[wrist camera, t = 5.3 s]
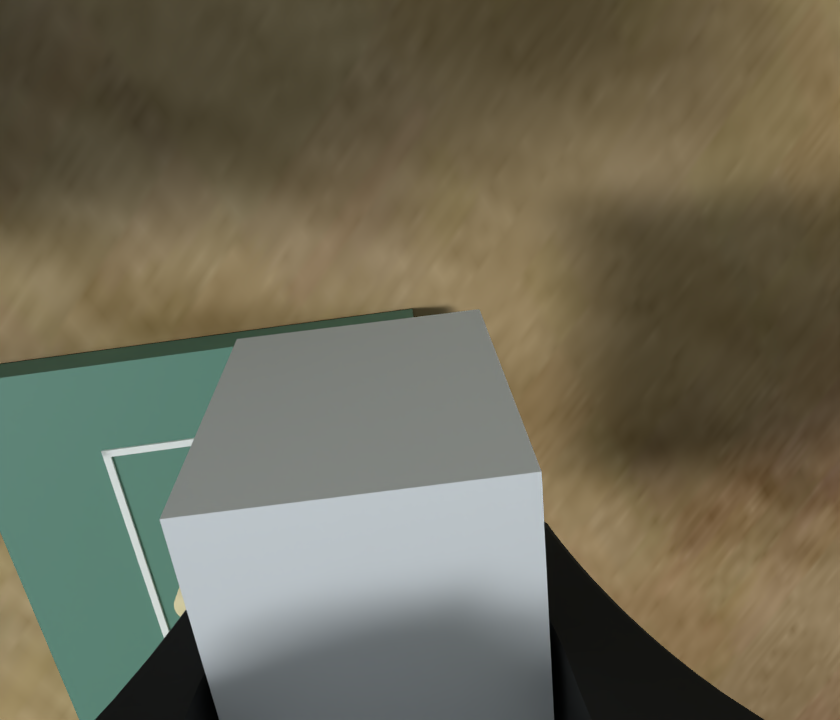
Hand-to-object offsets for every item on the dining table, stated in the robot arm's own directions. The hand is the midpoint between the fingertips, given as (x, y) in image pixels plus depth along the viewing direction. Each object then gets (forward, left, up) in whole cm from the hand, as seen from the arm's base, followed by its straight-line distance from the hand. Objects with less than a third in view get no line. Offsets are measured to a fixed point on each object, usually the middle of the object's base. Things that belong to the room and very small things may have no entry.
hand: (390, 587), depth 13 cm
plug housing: (0, 0, -2) cm, 2 cm away
